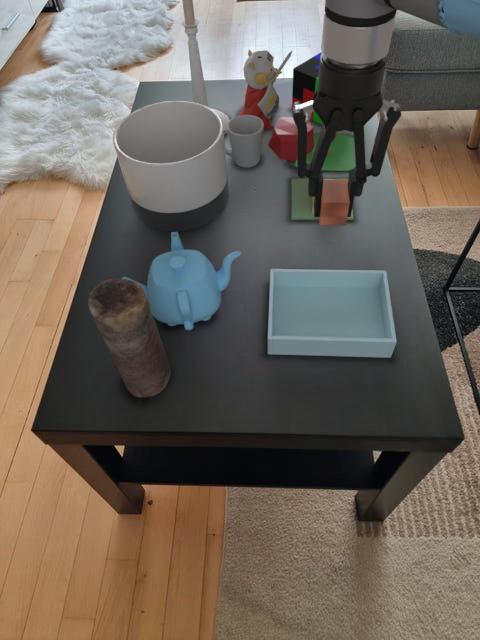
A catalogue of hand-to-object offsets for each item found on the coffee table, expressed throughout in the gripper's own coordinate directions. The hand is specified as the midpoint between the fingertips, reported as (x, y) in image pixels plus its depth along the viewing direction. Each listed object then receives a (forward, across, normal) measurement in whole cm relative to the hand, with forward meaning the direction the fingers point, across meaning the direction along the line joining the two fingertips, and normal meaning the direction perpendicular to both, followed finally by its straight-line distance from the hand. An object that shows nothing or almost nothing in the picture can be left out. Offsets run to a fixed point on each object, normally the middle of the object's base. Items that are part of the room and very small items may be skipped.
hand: (331, 210), depth 73 cm
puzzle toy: (+16, -2, -53) cm, 55 cm away
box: (+15, 0, +10) cm, 18 cm away
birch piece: (+15, -1, -18) cm, 23 cm away
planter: (+15, +27, -18) cm, 36 cm away
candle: (+15, +28, +21) cm, 38 cm away
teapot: (+15, +24, +6) cm, 29 cm away
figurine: (+16, +12, -50) cm, 54 cm away
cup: (+15, +16, -34) cm, 40 cm away
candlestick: (+16, +26, -47) cm, 56 cm away
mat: (+15, -1, -20) cm, 25 cm away
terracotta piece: (+1, 0, 0) cm, 1 cm away
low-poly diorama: (+15, 0, -35) cm, 38 cm away
